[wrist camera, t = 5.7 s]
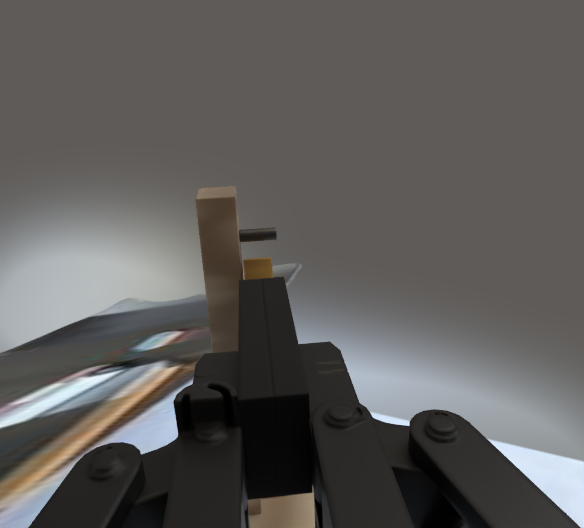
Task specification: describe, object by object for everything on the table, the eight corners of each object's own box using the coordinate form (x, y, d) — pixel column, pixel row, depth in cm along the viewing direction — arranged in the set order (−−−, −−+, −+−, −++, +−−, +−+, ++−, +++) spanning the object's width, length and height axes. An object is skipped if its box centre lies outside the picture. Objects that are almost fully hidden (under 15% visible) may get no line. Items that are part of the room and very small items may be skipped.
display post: (220, 573, 36) (174, 214, 26) (224, 471, 45) (191, 178, 36) (329, 560, 37) (323, 205, 27) (311, 462, 46) (302, 171, 36)
